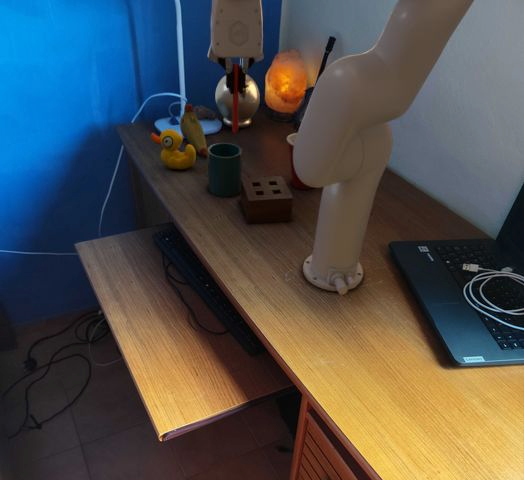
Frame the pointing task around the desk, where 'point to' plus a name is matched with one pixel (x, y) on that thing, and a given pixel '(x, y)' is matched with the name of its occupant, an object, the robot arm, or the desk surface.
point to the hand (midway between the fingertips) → (235, 91)
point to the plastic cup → (295, 179)
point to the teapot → (245, 106)
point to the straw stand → (266, 199)
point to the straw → (235, 97)
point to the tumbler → (224, 169)
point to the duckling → (174, 150)
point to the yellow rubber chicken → (193, 130)
